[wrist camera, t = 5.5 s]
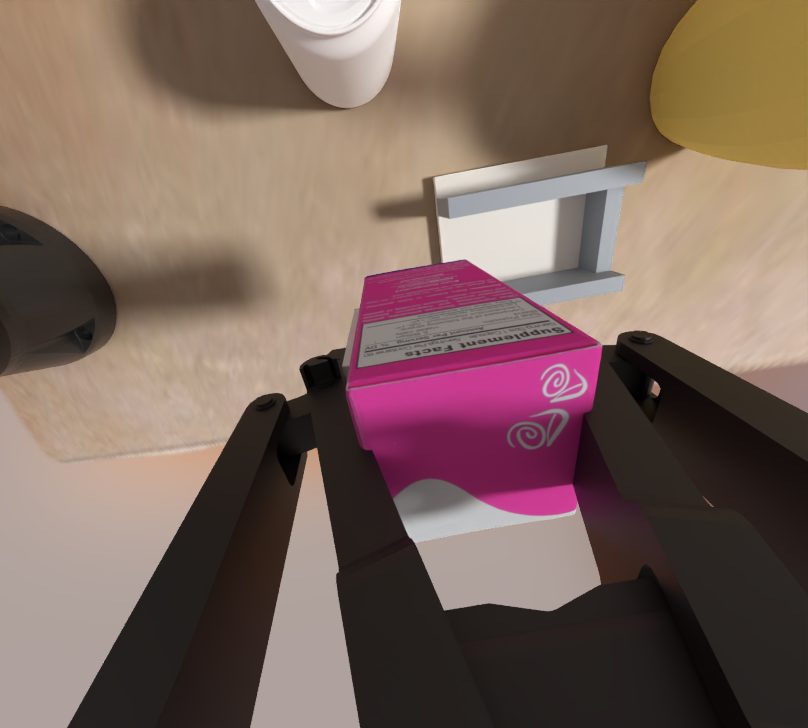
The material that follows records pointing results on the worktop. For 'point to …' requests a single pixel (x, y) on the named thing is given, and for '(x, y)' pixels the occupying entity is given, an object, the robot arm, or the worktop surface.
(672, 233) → the worktop surface
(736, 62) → the vase
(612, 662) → the robot arm
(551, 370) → the supplement box
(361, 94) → the beverage can
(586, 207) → the slot cradle
